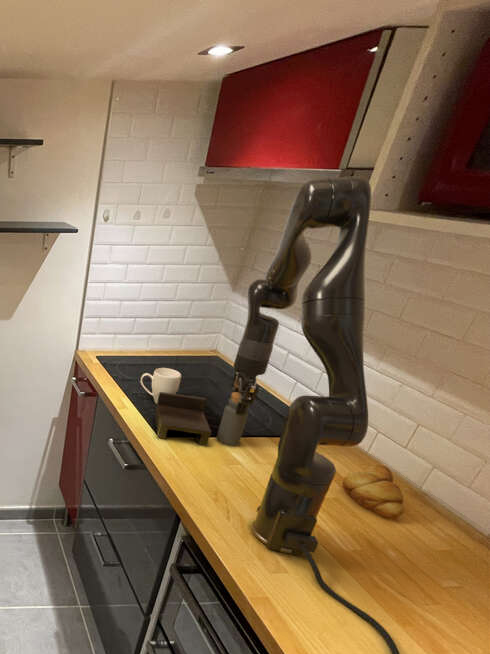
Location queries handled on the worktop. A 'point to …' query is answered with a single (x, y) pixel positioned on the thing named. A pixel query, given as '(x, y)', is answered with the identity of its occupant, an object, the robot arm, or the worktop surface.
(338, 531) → the worktop surface
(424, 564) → the worktop surface
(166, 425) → the dark brown legged piece
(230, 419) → the bottle
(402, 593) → the worktop surface
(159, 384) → the mug
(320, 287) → the robot arm
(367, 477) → the bread roll
